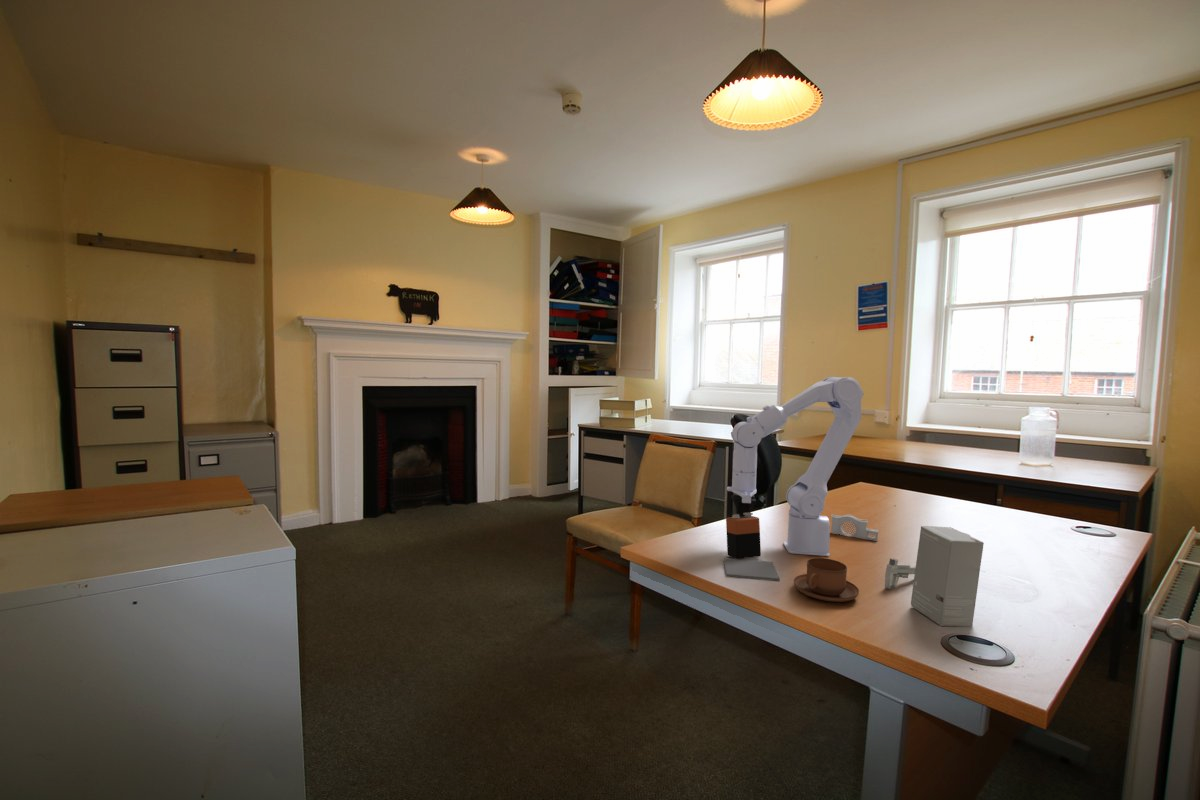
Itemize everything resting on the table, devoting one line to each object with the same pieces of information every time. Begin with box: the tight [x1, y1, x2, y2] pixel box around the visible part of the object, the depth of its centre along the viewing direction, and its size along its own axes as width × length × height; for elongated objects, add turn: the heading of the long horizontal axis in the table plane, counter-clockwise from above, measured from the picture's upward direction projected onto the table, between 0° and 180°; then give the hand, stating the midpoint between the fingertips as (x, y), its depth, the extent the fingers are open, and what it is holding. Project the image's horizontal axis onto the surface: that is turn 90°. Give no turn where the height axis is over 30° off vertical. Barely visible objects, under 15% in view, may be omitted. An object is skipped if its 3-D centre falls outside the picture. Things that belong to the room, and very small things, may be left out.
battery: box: [725, 512, 762, 560], centre depth 128 cm, size 4×7×10 cm, turn 110°
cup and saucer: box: [793, 557, 860, 603], centre depth 108 cm, size 12×12×6 cm
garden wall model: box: [830, 513, 880, 542], centre depth 146 cm, size 12×2×6 cm, turn 56°
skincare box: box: [910, 525, 985, 627], centre depth 98 cm, size 8×7×16 cm
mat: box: [723, 557, 781, 582], centre depth 120 cm, size 11×10×1 cm
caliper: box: [884, 558, 916, 590], centre depth 116 cm, size 21×1×6 cm, turn 122°
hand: (742, 525), depth 134 cm, fingers closed
